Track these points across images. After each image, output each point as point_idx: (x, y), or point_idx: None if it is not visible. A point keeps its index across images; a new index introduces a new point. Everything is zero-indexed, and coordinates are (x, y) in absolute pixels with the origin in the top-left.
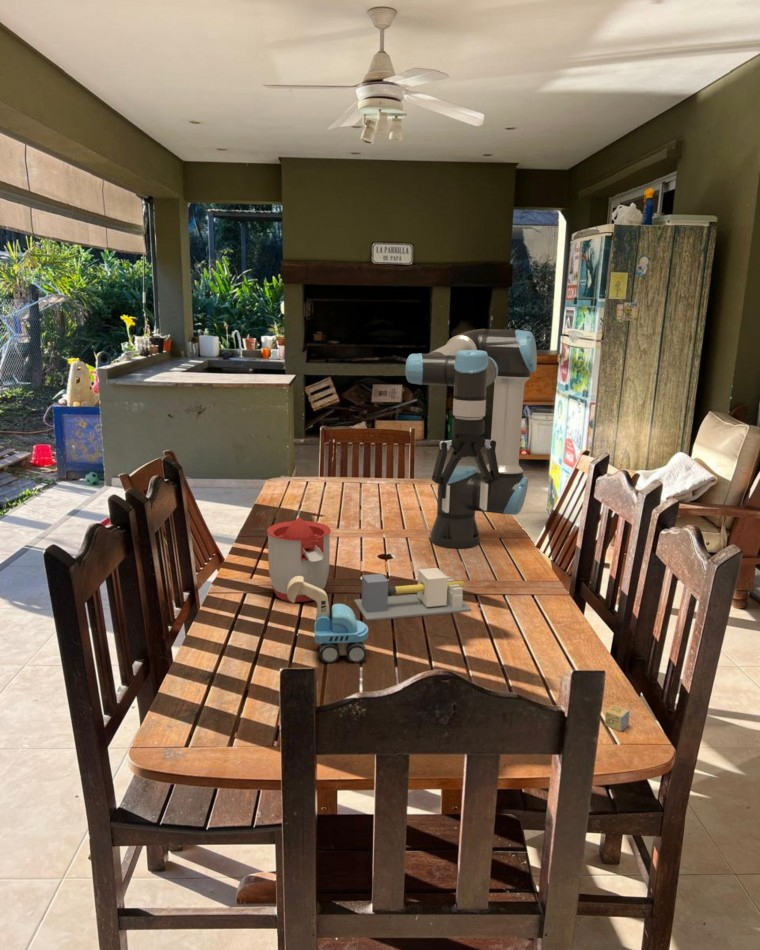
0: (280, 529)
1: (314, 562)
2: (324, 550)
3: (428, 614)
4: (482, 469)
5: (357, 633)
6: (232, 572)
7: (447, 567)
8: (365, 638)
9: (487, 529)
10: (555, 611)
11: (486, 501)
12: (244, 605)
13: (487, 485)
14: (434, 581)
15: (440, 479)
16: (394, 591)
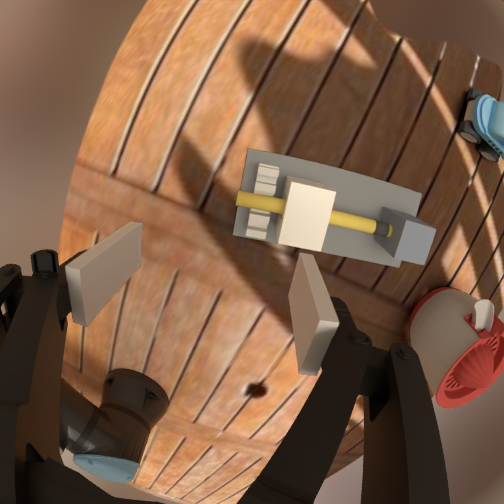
0: (473, 389)
1: (472, 309)
2: (463, 326)
3: (329, 166)
4: (41, 334)
5: (493, 98)
6: None
7: (186, 329)
8: (479, 96)
9: (88, 395)
10: (119, 102)
11: (116, 234)
12: None
13: (72, 264)
14: (319, 187)
15: (380, 366)
16: (377, 220)
